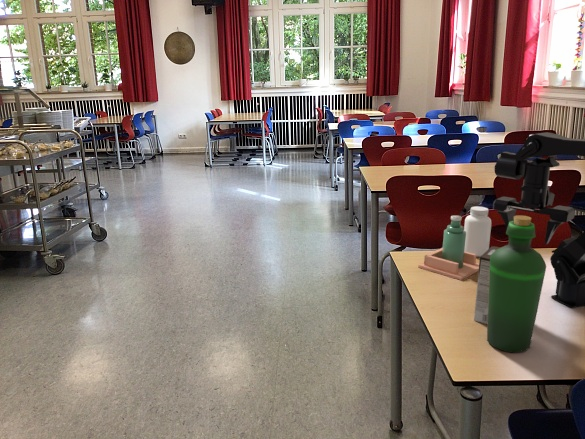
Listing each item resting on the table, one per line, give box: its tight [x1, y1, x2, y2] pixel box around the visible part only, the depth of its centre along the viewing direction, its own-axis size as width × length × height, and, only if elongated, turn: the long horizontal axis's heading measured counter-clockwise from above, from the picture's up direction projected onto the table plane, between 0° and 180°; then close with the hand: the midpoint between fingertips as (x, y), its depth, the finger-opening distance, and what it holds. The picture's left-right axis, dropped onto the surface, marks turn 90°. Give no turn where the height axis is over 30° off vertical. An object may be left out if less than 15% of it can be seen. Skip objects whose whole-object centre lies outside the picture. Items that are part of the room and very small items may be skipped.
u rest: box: [418, 247, 479, 281], centre depth 147 cm, size 14×14×4 cm
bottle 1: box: [442, 215, 466, 269], centre depth 145 cm, size 6×6×15 cm
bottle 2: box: [486, 214, 547, 353], centre depth 101 cm, size 11×11×28 cm
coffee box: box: [473, 245, 501, 325], centre depth 114 cm, size 9×6×16 cm
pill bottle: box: [463, 205, 492, 258], centre depth 157 cm, size 8×8×15 cm
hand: (528, 240), depth 130 cm, fingers open, 9 cm apart
